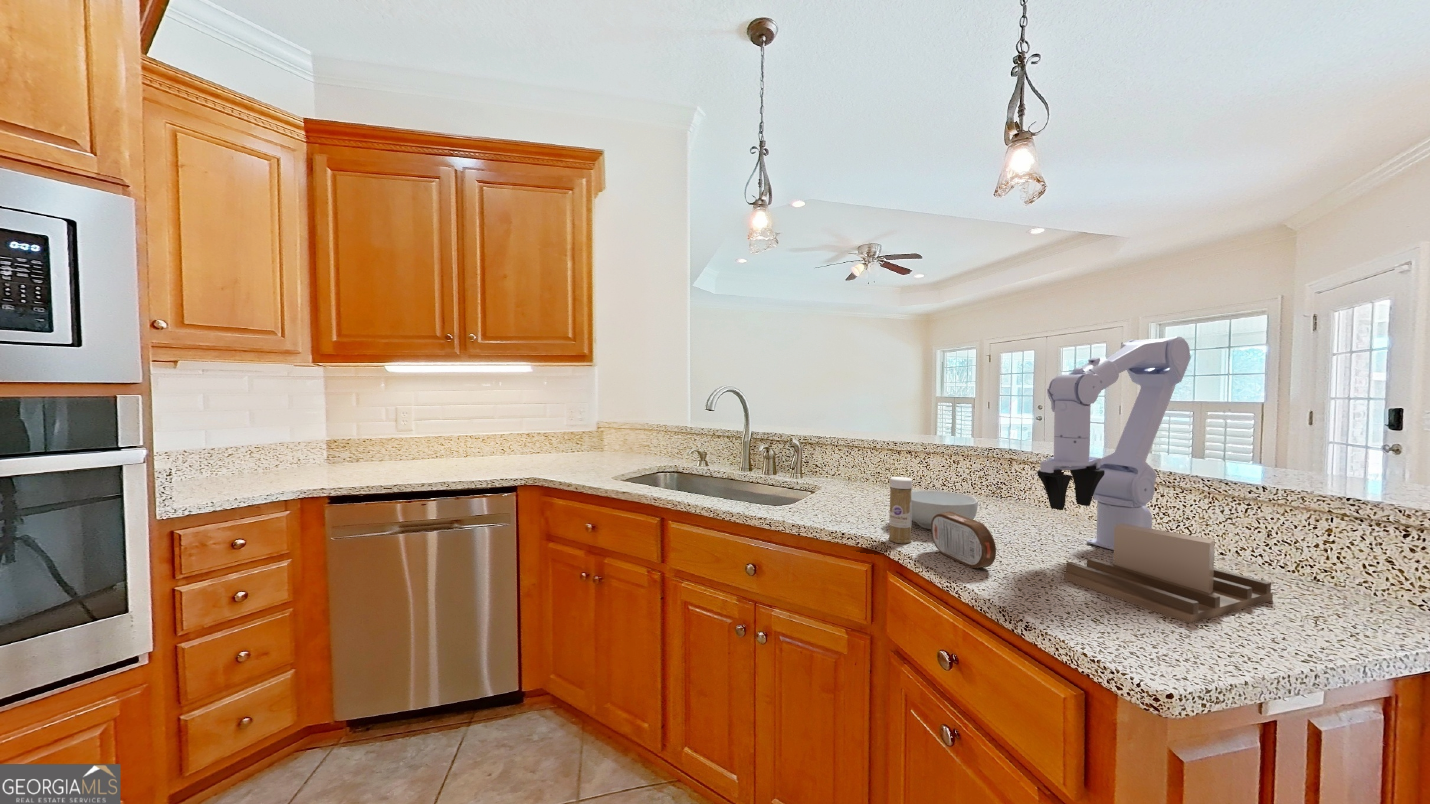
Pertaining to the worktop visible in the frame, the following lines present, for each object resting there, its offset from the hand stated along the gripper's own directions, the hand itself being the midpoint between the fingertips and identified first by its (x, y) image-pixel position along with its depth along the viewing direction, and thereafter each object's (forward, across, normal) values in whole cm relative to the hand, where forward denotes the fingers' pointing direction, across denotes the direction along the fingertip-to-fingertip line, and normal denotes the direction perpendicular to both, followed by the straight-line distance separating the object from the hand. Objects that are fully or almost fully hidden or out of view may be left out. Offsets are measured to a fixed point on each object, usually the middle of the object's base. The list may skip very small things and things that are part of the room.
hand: (1070, 507), depth 103 cm
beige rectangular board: (+8, +3, +17) cm, 19 cm away
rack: (+9, +3, +17) cm, 20 cm away
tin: (+10, +22, -6) cm, 25 cm away
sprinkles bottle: (+10, +23, -20) cm, 32 cm away
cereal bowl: (+10, +7, -26) cm, 29 cm away
